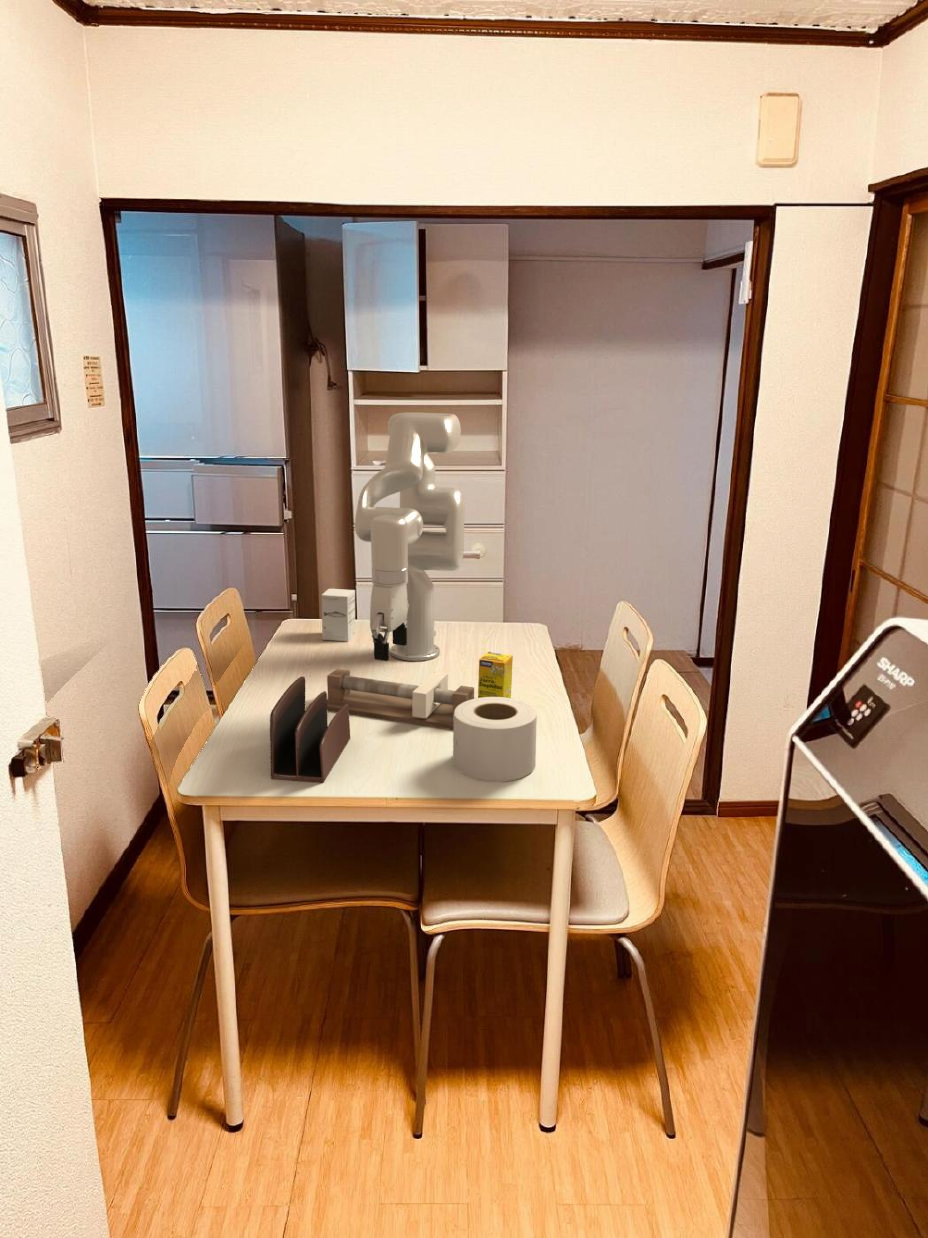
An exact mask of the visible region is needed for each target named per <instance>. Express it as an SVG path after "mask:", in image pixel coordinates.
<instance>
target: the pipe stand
mask: <svg viewBox="0 0 928 1238" xmlns="http://www.w3.org/2000/svg"><path fill="white" fill-rule="evenodd" d="M326 678H327V679H326V680H327V683H326V684H327V685H326V686H327V711H328V712H336V713H337V712H338V711H339V709H340V708H341V707H342V706H343V705H344V704H348V707H349V715H356V716H362V717H369V718H376V719H382V720H387V721H395V722H401V723H406V724H407V723H408V724H414V725H418V726H419V725H421V726H425V727H426V726H427V727H433V728H439V729H445V730H452V731H454V720H453V716H454V711H455V709H456V707H457V706H458V705H460V704H461V703H463V702H465V701H468V700H472V699H475V687H473V686H466V685H460V686H459V687H458V688H456V690H452V689H451V690H450V689H448V690H445V689H438V688H435V689H434V702H436V703H441V704H440V705H439V706H438V707H437V708H436V709H435V710H434V711H433V712H432V713H431V714H430V715H429V716H428V717H427V718H419V717H413V716H412V692H413V691H414V690H415V689H416V688H418V687H419V686H420V685H415V684H409V683H402V682H394V681H387V680H381V679H372V678H366V677H365V678H364V677H360V676H359V677H358V676H351V671H350V669H345V668H336V669H334V670H333V671H332V672H330V673H329V674H327V675H326Z"/></svg>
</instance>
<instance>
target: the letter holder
mask: <svg viewBox="0 0 928 1238" xmlns="http://www.w3.org/2000/svg"><path fill="white" fill-rule="evenodd" d="M327 700H328V692H327V691H326V690H323V691H322V692H320V694H318V695H317V696H316V697H315V698H314V699H313V700H312V702H311V703H310V704H309V705H308V706H307V708H306V677H305V676H301V675H300V676H299V677H297V679H295V680H294V681H293V682H292V683H291V684H290V685H289V686H288V687H287V689H286V690H284V692H283V693H282V695H281V696H280V698H279V699H278V700H277V702H276V704H275V705H274V707H273V709H271V712H270V715H269V741H270V742H269V743H270V744H269V747H270V750H269V751H270V755H269V756H270V758H269V759H270V778H271V779H272V780H278V781H279V780H281V781H291V780H292V781H293V782H294V781H295V782H308V783H318V784H319V783H321V784H322V783H324V782H325V781H326V780H327V778H328V777H329V774H330V772H331V771H332V770H333V768H334V766H335V765H336V763H337V762H338V760H339V758H340V756H341V755H342V753H343V751H344V750H345V748H346V747H347V745H348V743H349V741H350V740H351V727H350V726H351V725H350V714H349V707H348V704H344V705H343V706H342V707H341V708H340V709H339V711H338V712H336V713H335V715H333V718H332V719H331V720H330V722H329V723H328V710H327Z"/></svg>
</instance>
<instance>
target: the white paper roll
mask: <svg viewBox="0 0 928 1238" xmlns="http://www.w3.org/2000/svg"><path fill="white" fill-rule="evenodd" d="M537 715H538V714H537V710H536V708H535V707H534V706H532V705H531V704H530V703H527V702H525V701H522V700H519V699H516V698H512V697H511V698H504V697H483V698H478V697H477V698H474V699H472V700H468V701H465V702H463V703H461V704H460V705H458V706H457V707H456V709H455V711H454V716H453V720H454V730H453V734H452V741H453V742H452V743H453V745H452V746H453V747H452V758H453V759H452V766H453V767H454V769H455V770H456V771H458V772H459V773H460V774H462V775H463V776H465V777H468V778H470V779H474V780H478V781H483V782H492V783H493V782H497V783H498V782H501V783H502V782H510V781H515V780H519V779H522V778H524V777H526V776H528V775H530V774H531V773H532V772H533V771H534V770H535V769H536V768H535V767H536V759H537V758H536V754H537V721H538V720H537V719H538V717H537Z"/></svg>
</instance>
